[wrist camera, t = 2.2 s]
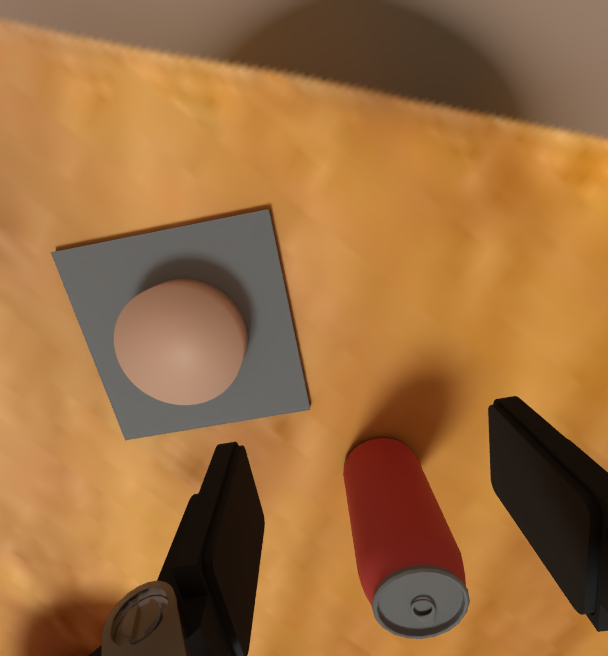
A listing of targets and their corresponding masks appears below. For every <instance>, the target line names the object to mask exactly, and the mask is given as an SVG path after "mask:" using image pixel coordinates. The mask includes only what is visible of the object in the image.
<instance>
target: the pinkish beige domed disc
mask: <svg viewBox="0 0 608 656" xmlns="http://www.w3.org/2000/svg"><path fill="white" fill-rule="evenodd" d="M247 345H248V333H247V327H246V324H245V321H244V318H243V316H242V314H241V312H240V310H239V309H238V307H237V306H236V304H235V303H234V302H233V301H232V299H230V298H229V297H228V296H227V295H226V294H225V293H224V292H222V291H221V290H220V289H218V288H216V287H214V286H213V285H210V284H208V283H205V282H202V281H199V280H194V279H173V280H169V281H165V282H163V283H160V284H158V285H156V286H154V287H152V288H150V289H148V290H146V291H144V292H142V293H140V294H138V295H137V296H135V297H134V298H133V299H132V300H130V301H129V302H128V303H127V305H126V306H125V307H124V308H123V310H122V311H121V313H120V315H119V317H118V319H117V322H116V325H115V330H114V348H115V353H116V356H117V360H118V362H119V364H120V366H121V368H122V370H123V371H124V373H125V374H126V376H127V377H128V378H129V380H130V381H131V382H132V383H133V384H134V385H135V386H136V387H138V388H139V389H140V390H141V391H143V392H144V393H146V394H147V395H149V396H151V397H153V398H155V399H157V400H160V401H163V402H166V403H170V404H176V405H194V404H200V403H204V402H206V401H209V400H212V399H213V398H215V397H217V396H219V395H220V394H222V393H223V392H224V391H225V390H226V389H227V388H228V387H229V386H230V385H231V384H232V382H233V381H234V379H235V378H236V376H237V374H238V372H239V369H240V367H241V364H242V362H243V360H244V357H245V355H246V351H247Z"/></svg>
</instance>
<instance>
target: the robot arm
mask: <svg viewBox="0 0 608 656" xmlns="http://www.w3.org/2000/svg"><path fill="white" fill-rule="evenodd" d="M488 416H489V443H490V469H491V483H492V486H493V489H494V491H495V493H496V495H497V496H498V498H499V499H500V501H501V502H502V503H503V505H504V506H505V508H506V509H507V511H508V512H509V514H510V515H511V517H512V518H513V520H514V521H515V522H516V524H517V525H518V527H519V528H520V530H521V531H522V533H523V534H524V536H525V537H526V539H527V540H528V542H529V543H530V544H531V546H532V547H533V549H534V550H535V552H536V553H537V555H538V556H539V558H540V559H541V561H542V562H543V564H544V565H545V566H546V568H547V569H548V571H549V572H550V574H551V575H552V577H553V578H554V580H555V581H556V583H557V584H558V586H559V587H560V588H561V590H562V591H563V593H564V594H565V596H566V597H567V599H568V600H569V602H570V603H571V605H572V606H573V607H574V609H575V610H576V611H577V612H578V613H579V614H581V615H582V614H586V615H587V617H588V618H589V620H590V621H591V622H592V624H593V625H594V627H595V628H596V630H597V631H598V632H600V631H608V472H606V471H605V470H604V469H603V468H602V467H601V466H599V465H598V464H597V463H596V462H595V461H594V460H592V459H591V458H590V457H589V456H588V455H587V454H585V453H584V452H583V451H582V450H581V449H580V448H578V447H577V446H576V445H575V444H574V443H573V442H571V441H570V440H568V439H567V438H565V437H564V436H563V435H562V434H561V433H559V432H558V431H557V430H556V429H555V428H554V427H552V426H551V425H550V424H549V423H548V422H547V421H546V420H544V419H543V418H542V417H541V416H540V415H539V414H537V413H536V412H535V411H534V410H533V409H532V408H530V407H529V406H528V405H527V404H526V403H525V402H523V401H522V400H521V399H520V398H519V397H517V396H513V397H507V398H500V399H496V400H494V403H493V405H490V406H489V408H488ZM264 526H265V522H264V514H263V510H262V507H261V503H260V500H259V496H258V493H257V489H256V486H255V482H254V479H253V475H252V471H251V468H250V464H249V461H248V457H247V454H246V450H245V447H244V446H239V445H238V443H237V442H231V443H225V444H219V445H217V447H216V449H215V452H214V454H213V457H212V459H211V462H210V465H209V467H208V470H207V473H206V475H205V478H204V481H203V483H202V486H201V489H200V491H199V494H194V495H193V496H192V497H191V498H190V500H189V502H188V505H187V507H186V510H185V512H184V515H183V517H182V520H181V522H180V525H179V527H178V530H177V532H176V535H175V537H174V540H173V542H172V545H171V547H170V550H169V552H168V555H167V557H166V560H165V562H164V565H163V567H162V570H161V572H160V575H159V577H158V580H157V581H152V582H147V583H145V584H143V585H140V586H138V587H137V588H135V589H134V590H132V591H131V592H129V593H128V594H127V595H126V596H125V597H124V598H123V599H122V600H120V601H119V602H118V603H117V605H116V606H115V608H114V609H113V610H112V612H111V613H110V614H109V617H108V619H107V621H106V623H105V625H104V629H103V634H102V645H101V646H100V647H99V648H97V649H96V650H95V651H94V652H93V653H92V654H90V655H89V656H247V655H248V651H249V644H250V637H251V629H252V621H253V613H254V605H255V597H256V590H257V582H258V574H259V566H260V558H261V551H262V543H263V535H264Z"/></svg>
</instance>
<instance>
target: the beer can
mask: <svg viewBox="0 0 608 656" xmlns="http://www.w3.org/2000/svg"><path fill="white" fill-rule="evenodd" d="M343 475H344V482H345V488H346V495H347V502H348V509H349V515H350V522H351V529H352V536H353V542H354V549H355V556H356V563H357V569H358V574H359V578H360V581H361V585H362V587H363V590H364V593H365V595H366V597H367V599H368V600H369V602H370V604H371V606H372V609H373V613H374V616H375V619H376V620H377V621H378V623H379V624H380V625H381V626H382V627H383V628H385V629H386V630H388V631H389V632H391V633H393V634H394V635H398V636H401V637H405V638H415V639H423V638H429V637H435V636H437V635H440V634H442V633H445V632H447V631H449V630H450V629H452V628H453V627H454V626H456V625H457V624H459V622H460V621H461V620H462V618H463V617H464V616H465V614H466V613H467V610H468V606H469V602H470V600H469V594H468V589H467V588H466V583H465V572H464V566H463V561H462V556H461V553H460V550H459V548H458V546H457V544H456V542H455V539H454V537H453V535H452V533H451V531H450V529H449V526H448V524H447V522H446V520H445V518H444V516H443V513H442V511H441V509H440V507H439V505H438V502H437V500H436V498H435V496H434V494H433V492H432V489H431V487H430V485H429V483H428V481H427V479H426V476H425V474H424V472H423V470H422V468H421V465H420V463H419V461H418V459H417V457H416V456H415V454H414V452H413V451H412V449H410V448H409V447H408V446H406V445H405V444H404V443H402V442H400V441H397V440H394V439H391V438H377V439H372V440H368V441H366V442H364V443H362V444H360V445H358V446H357V447H356V448H355V449H354V450H353V451H352V452H351V453H350V454H349V456H348V458H347V460H346V462H345V464H344V472H343Z"/></svg>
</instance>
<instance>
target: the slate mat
mask: <svg viewBox="0 0 608 656" xmlns="http://www.w3.org/2000/svg"><path fill="white" fill-rule="evenodd" d="M51 254H52V257H53V259H54V262H55V264H56V267H57V269H58V272H59V274H60V277H61V279H62V282H63V284H64V287H65V289H66V292H67V294H68V297H69V299H70V302H71V304H72V307H73V309H74V312H75V314H76V317H77V320H78V322H79V325H80V327H81V330H82V332H83V335H84V337H85V340H86V342H87V345H88V347H89V350H90V352H91V355H92V357H93V360H94V362H95V365H96V367H97V370H98V372H99V375H100V378H101V380H102V383H103V385H104V388H105V390H106V393H107V395H108V398H109V400H110V403H111V405H112V408H113V410H114V413H115V415H116V418H117V420H118V423H119V425H120V428H121V430H122V433H123V435H124V438H125V440H129V439H136V438H142V437H148V436H154V435H160V434H166V433H172V432H178V431H184V430H190V429H196V428H202V427H208V426H214V425H220V424H226V423H232V422H239V421H245V420H251V419H257V418H263V417H269V416H275V415H281V414H287V413H293V412H299V411H305V410H310V404H309V399H308V394H307V389H306V384H305V379H304V375H303V370H302V365H301V360H300V355H299V350H298V345H297V341H296V336H295V331H294V326H293V321H292V316H291V312H290V307H289V302H288V297H287V292H286V287H285V283H284V278H283V273H282V268H281V263H280V258H279V254H278V249H277V244H276V239H275V234H274V229H273V225H272V220H271V215H270V210H269V209H266V210H261V211H256V212H251V213H246V214H241V215H236V216H231V217H226V218H221V219H216V220H211V221H206V222H201V223H196V224H191V225H186V226H181V227H176V228H171V229H166V230H161V231H156V232H151V233H146V234H141V235H136V236H131V237H126V238H121V239H116V240H111V241H106V242H101V243H96V244H91V245H86V246H81V247H76V248H71V249H66V250H61V251H56V252H51ZM173 279H194V280H199V281H202V282H205V283H208V284H210V285H213V286H214V287H216V288H218V289H220V290H221V291H222V292H224V293H225V294H226V295H227V296H228V297H229V298H230V299H232V301H233V302H234V303H235V304H236V306H237V307H238V309H239V310H240V312H241V314H242V316H243V318H244V321H245V324H246V327H247V333H248V345H247V351H246V355H245V357H244V360H243V362H242V364H241V367H240V369H239V372H238V374H237V376H236V378H235V379H234V381H233V382H232V384H231V385H230V386H229V387H228V388H227V389H226V390H225V391H224V392H223V393H222V394H220V395H219V396H217V397H215V398H213V399H212V400H209V401H206V402H204V403H200V404H194V405H176V404H170V403H166V402H163V401H160V400H157V399H155V398H153V397H151V396H149V395H147V394H146V393H144V392H143V391H141V390H140V389H139V388H138V387H136V386H135V385H134V384H133V383H132V382H131V381H130V380H129V378H128V377H127V376H126V374H125V373H124V371H123V370H122V368H121V366H120V364H119V362H118V360H117V356H116V353H115V348H114V330H115V325H116V322H117V319H118V317H119V315H120V313H121V311H122V310H123V308H124V307H125V306H126V305H127V303H128V302H129V301H130V300H132V299H133V298H134V297H135V296H137V295H138V294H140V293H142V292H144V291H146V290H148V289H150V288H152V287H154V286H156V285H158V284H160V283H163V282H165V281H169V280H173Z"/></svg>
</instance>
